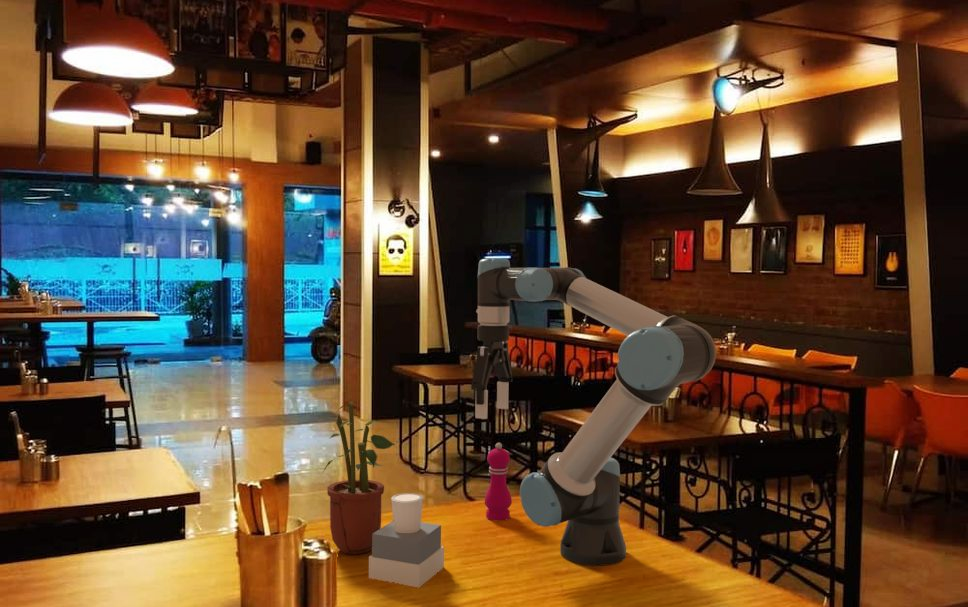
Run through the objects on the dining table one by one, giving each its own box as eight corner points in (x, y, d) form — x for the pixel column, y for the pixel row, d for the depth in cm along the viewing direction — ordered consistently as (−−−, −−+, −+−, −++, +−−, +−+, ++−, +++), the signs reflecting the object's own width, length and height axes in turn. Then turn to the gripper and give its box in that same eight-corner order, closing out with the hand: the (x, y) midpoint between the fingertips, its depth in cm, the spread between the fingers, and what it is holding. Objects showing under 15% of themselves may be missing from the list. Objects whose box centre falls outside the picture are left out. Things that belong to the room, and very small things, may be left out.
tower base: (443, 568, 176) (444, 546, 176) (418, 589, 165) (419, 565, 165) (396, 560, 181) (396, 539, 180) (368, 579, 170) (368, 556, 169)
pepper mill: (482, 520, 208) (483, 445, 207) (486, 512, 216) (487, 439, 215) (509, 522, 207) (510, 446, 206) (513, 514, 214) (514, 440, 213)
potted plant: (368, 563, 178) (368, 408, 176) (307, 554, 183) (307, 403, 181) (400, 538, 194) (401, 396, 193) (344, 530, 199) (344, 392, 198)
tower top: (440, 547, 175) (441, 525, 175) (418, 564, 165) (418, 541, 165) (396, 540, 180) (396, 518, 179) (372, 557, 169) (372, 533, 169)
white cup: (409, 536, 167) (409, 503, 167) (384, 530, 171) (384, 498, 171) (429, 527, 173) (429, 495, 173) (405, 521, 177) (404, 490, 177)
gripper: (497, 320, 201) (496, 403, 202) (457, 327, 178) (456, 421, 179) (525, 321, 198) (524, 406, 199) (488, 328, 175) (487, 424, 176)
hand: (492, 413), depth 189 cm, fingers open, 13 cm apart
